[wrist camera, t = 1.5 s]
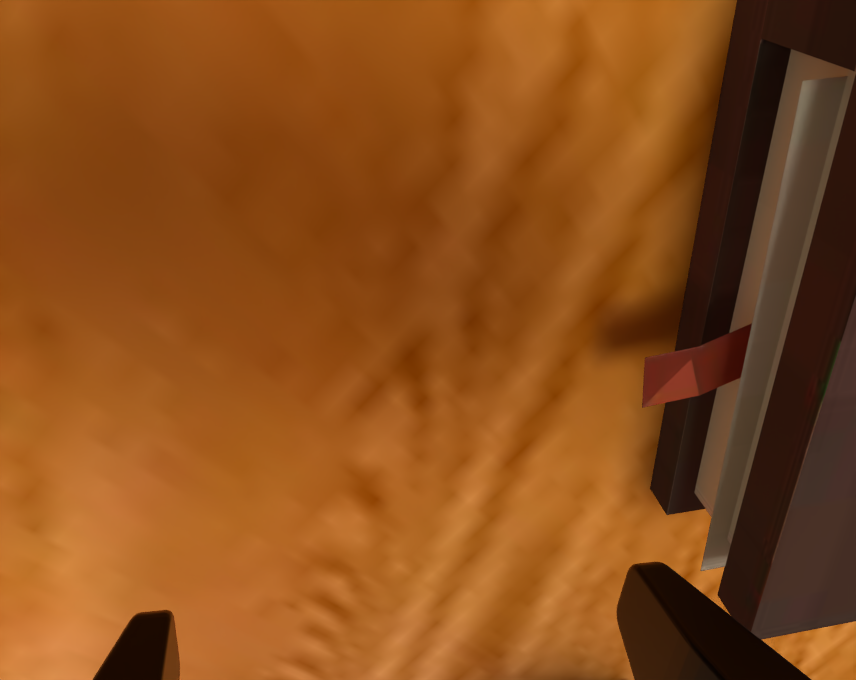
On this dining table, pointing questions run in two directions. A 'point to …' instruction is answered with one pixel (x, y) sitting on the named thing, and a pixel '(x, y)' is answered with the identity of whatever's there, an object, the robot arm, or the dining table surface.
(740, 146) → the decorative book
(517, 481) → the dining table surface
